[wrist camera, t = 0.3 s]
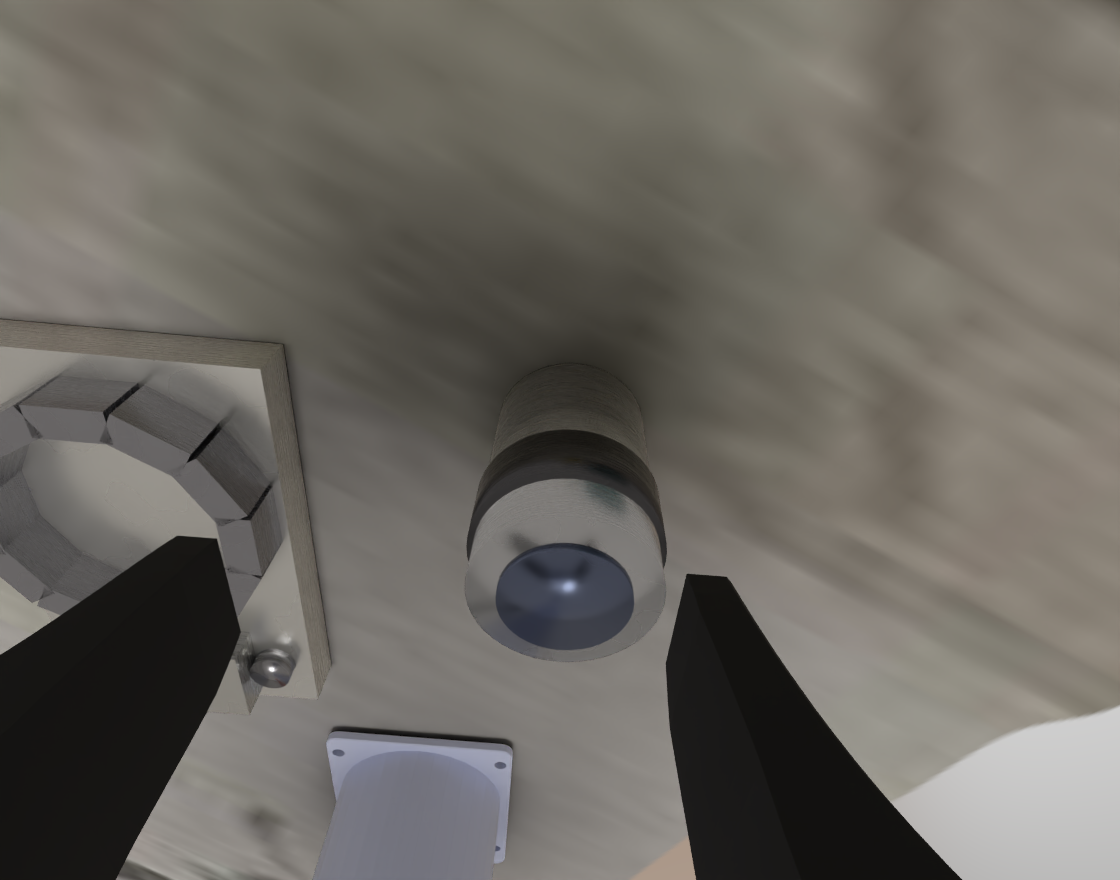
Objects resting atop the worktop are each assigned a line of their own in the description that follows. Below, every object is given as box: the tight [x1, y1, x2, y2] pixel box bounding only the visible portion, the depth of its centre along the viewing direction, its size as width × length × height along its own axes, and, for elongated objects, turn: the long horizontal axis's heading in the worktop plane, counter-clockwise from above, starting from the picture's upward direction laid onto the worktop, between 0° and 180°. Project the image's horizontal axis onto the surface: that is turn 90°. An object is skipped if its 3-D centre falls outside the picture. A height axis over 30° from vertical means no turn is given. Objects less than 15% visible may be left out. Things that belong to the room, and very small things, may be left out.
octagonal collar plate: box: [0, 319, 331, 715], centre depth 22 cm, size 14×9×3 cm, turn 175°
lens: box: [465, 363, 667, 662], centre depth 18 cm, size 5×5×7 cm
